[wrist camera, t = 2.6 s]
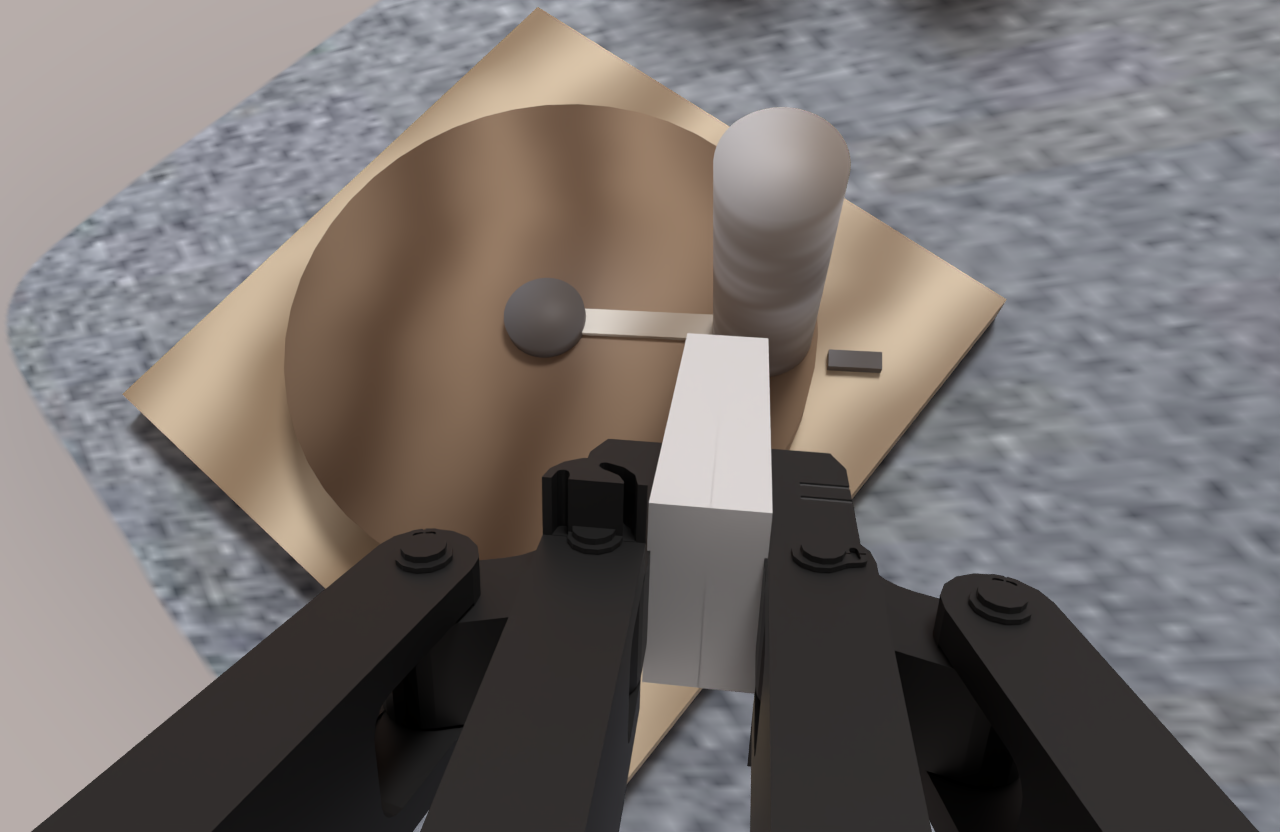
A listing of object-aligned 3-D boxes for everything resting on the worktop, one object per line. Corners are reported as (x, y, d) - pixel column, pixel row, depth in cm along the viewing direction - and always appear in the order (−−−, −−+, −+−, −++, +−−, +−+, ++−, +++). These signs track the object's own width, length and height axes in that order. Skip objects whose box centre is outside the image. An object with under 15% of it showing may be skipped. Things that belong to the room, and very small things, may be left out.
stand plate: (995, 317, 37) (1009, 294, 36) (588, 832, 32) (581, 836, 30) (543, 31, 45) (536, 0, 43) (143, 407, 39) (116, 390, 37)
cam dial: (251, 577, 34) (25, 478, 23) (360, 129, 41) (229, -114, 30) (805, 621, 32) (855, 537, 21) (818, 142, 39) (861, -113, 28)
